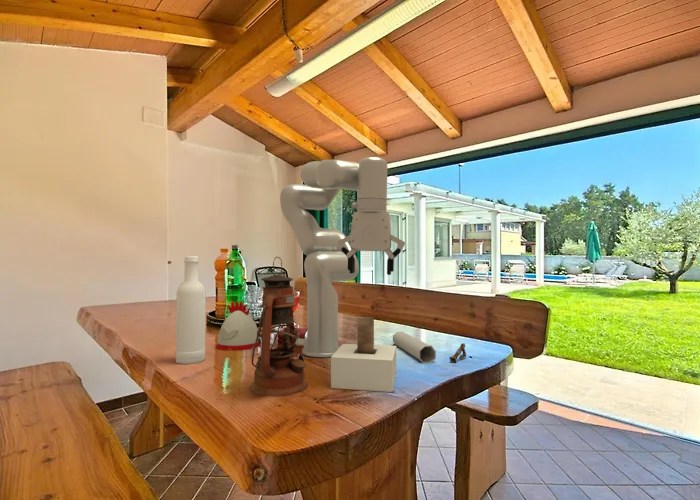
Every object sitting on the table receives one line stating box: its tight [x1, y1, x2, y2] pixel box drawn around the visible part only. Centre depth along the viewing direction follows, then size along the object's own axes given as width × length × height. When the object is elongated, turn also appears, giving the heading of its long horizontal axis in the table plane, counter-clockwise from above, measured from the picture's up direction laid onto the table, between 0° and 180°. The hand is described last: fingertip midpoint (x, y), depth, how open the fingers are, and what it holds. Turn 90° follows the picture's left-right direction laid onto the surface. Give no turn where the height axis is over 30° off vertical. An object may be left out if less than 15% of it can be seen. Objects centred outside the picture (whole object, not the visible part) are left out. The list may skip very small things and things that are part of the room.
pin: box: [356, 316, 375, 354], centre depth 94 cm, size 4×4×12 cm
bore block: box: [330, 343, 397, 393], centre depth 94 cm, size 14×14×7 cm
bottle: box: [175, 255, 207, 365], centre depth 111 cm, size 8×8×30 cm
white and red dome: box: [216, 300, 260, 352], centre depth 130 cm, size 14×14×15 cm
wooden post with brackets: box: [449, 342, 467, 364], centre depth 113 cm, size 2×8×4 cm, turn 137°
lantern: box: [250, 256, 308, 397], centre depth 90 cm, size 17×13×30 cm
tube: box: [392, 331, 437, 364], centre depth 122 cm, size 5×5×25 cm
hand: (370, 273), depth 99 cm, fingers open, 9 cm apart
